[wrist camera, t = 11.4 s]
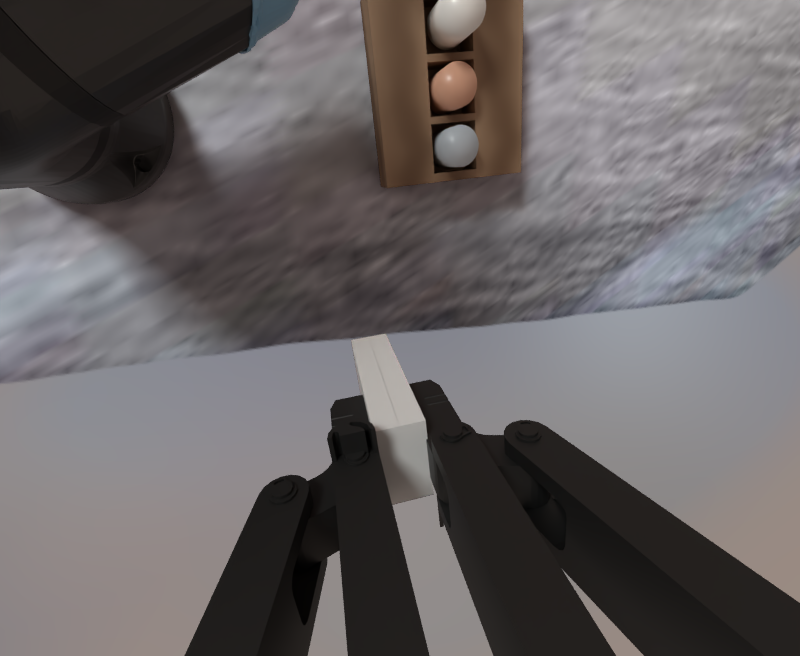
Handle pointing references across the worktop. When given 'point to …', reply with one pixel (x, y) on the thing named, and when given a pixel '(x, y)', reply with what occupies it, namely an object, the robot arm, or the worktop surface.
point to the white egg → (454, 21)
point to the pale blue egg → (454, 146)
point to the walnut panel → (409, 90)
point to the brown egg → (452, 87)
